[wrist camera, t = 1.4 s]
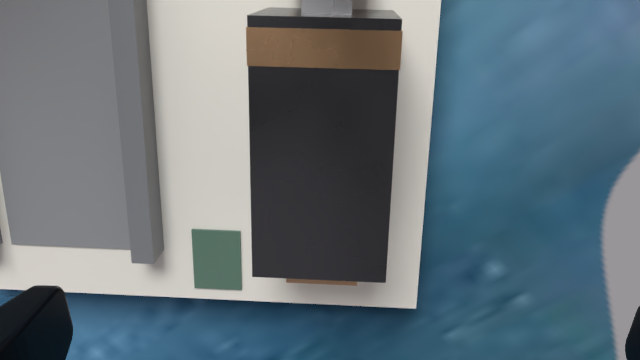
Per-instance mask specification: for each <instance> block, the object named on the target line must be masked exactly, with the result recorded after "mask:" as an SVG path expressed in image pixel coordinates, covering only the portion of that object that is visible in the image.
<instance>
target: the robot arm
mask: <svg viewBox="0 0 640 360" xmlns="http://www.w3.org/2000/svg"><path fill="white" fill-rule="evenodd" d="M72 336H73V325H72V320H71V316H70V312H69V308H68V304H67V300H66V296H65V293H64V291H63V289H62V288H61V287H59V286H48V285H36V286H33V287H31V288H29V289H27V290H26V291H24V292H22V293H21V294H19V295H18V296H16V297H15V298H13V299H11V300H10V301H8V302H7V303H5V304H3V305H2V306H0V360H65V359H66V356H67V353H68V350H69V347H70V344H71V340H72ZM625 352H626V358H627V360H640V306H639V307H638V309H637V312H636V314H635V317H634V320H633V323H632V326H631V328H630V331H629V334H628V337H627V339H626V344H625Z"/></svg>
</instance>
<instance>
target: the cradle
mask: <svg viewBox="0 0 640 360" xmlns="http://www.w3.org/2000/svg"><path fill="white" fill-rule="evenodd" d="M268 7H275V8H302V0H0V289H10V290H27V289H29V288H31V287H33V286H36V285H48V286H59V287H61V288H62V289H63V291H64V292H73V293H94V294H115V295H137V296H158V297H179V298H200V299H221V300H242V301H263V302H285V303H306V304H327V305H348V306H369V307H390V308H411V309H416V303H417V291H418V279H419V267H420V254H421V242H422V230H423V218H424V205H425V193H426V181H427V168H428V156H429V144H430V132H431V119H432V107H433V95H434V83H435V70H436V58H437V46H438V34H439V21H440V9H441V0H352V9H361V10H393V11H394V12H395V13H396V14H398V15H399V16H400V17H401V18H402V31H403V34H402V50H401V66H400V70H399V78H398V94H397V110H396V126H395V142H394V158H393V174H392V190H391V206H390V222H389V238H388V255H387V271H386V283H376V282H353V281H331V280H309V279H287V278H265V277H252V240H251V189H250V138H249V87H248V66H247V53H246V27H247V15H249V14H252V13H255V12H257V11H260V10H263V9H265V8H268Z"/></svg>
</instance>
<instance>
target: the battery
mask: <svg viewBox="0 0 640 360" xmlns="http://www.w3.org/2000/svg"><path fill="white" fill-rule="evenodd" d="M402 34H403V31H402V18H401V17H400V16H399V15H398V14H396V13H395V12H394V11H393V10H361V9H352V0H302V8H275V7H268V8H265V9H263V10H260V11H257V12H255V13H252V14H249V15H247V27H246V53H247V66H248V87H249V138H250V189H251V240H252V277H265V278H287V279H309V280H331V281H353V282H376V283H386V271H387V255H388V238H389V222H390V206H391V190H392V174H393V158H394V142H395V126H396V110H397V94H398V78H399V70H400V66H401V50H402Z"/></svg>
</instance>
